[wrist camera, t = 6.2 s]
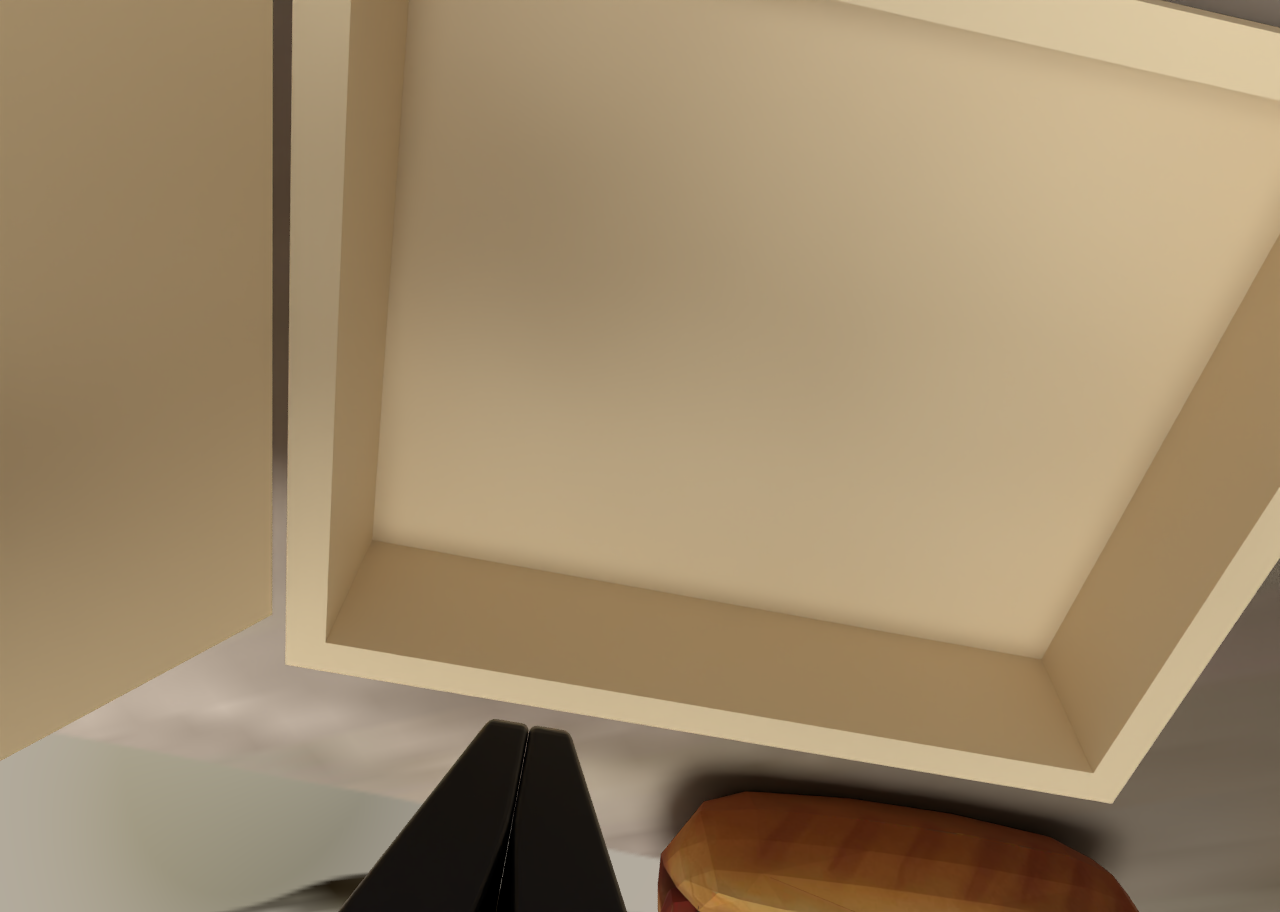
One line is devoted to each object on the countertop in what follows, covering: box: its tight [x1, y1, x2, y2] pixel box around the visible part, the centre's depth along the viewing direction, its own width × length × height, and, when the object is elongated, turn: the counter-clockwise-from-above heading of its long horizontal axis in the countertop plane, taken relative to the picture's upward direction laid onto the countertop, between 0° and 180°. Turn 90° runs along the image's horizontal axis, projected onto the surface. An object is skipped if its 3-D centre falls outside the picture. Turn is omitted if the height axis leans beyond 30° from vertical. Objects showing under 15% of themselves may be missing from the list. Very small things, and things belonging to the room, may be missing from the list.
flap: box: [0, 0, 273, 761], centre depth 13 cm, size 8×12×1 cm
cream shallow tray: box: [285, 0, 1280, 804], centre depth 19 cm, size 18×15×4 cm
